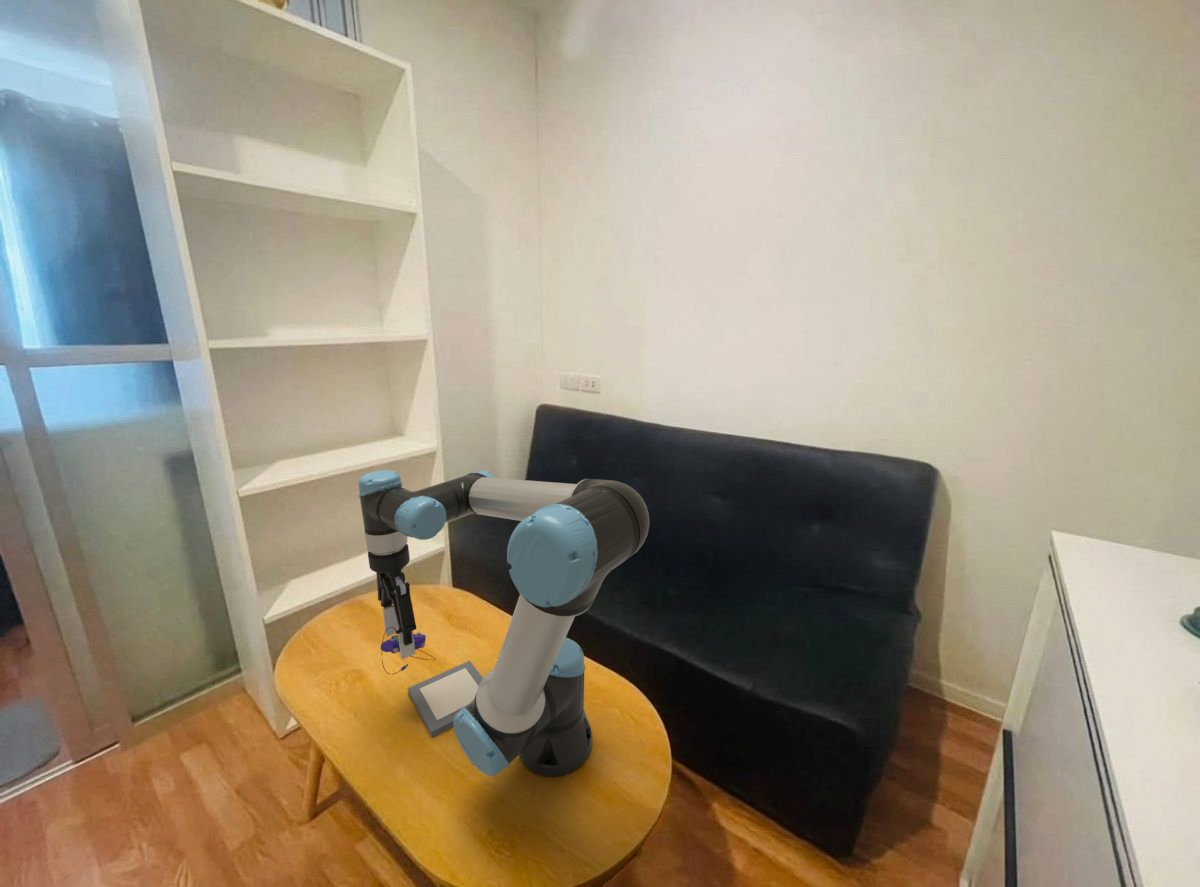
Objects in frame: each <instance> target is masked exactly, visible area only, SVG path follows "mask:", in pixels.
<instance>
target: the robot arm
mask: <svg viewBox="0 0 1200 887" xmlns="http://www.w3.org/2000/svg"><path fill="white" fill-rule="evenodd" d="M402 486H403V482H402V478H401V476H400V474H399V472H397V471H395V470H391V469H389V470H388V469H387V470H386V469H382V470H375V471H372V472H368V473H365V474H363V475H362V476H361V477H360V478H359V481H358V490H359V495H358V498H359V500H360V507H361V513H362V514H361V515H362V520H363V527H364V532H363V533H364V538H365V546H366V550H367V551H368V552H367V558H368V564H369V569H370V570H371V571H372V572H374V573H375V574H376V585H377V587H376V590H377V600H378V602H380V606H381V607H382V609H381V610H382V615H383V622H384V623H383V625H384V632H385V631H386V630H387V631H386V633H385V636H386V638H387V637H389V636H390V637H391V636H394V635H395V634H396V635H398V639H399V647H400V652H399V653H400V659H401V660H405V659H407V658H409V657H410V656H413V655H415V654H416V650H415V645H414V637H413V634H414V632H413V631H415V630H417V623H416V618H415V613H414V612H415V611H414V609H413V603H412V598H411V597H412V596H411V588H410V583H409V582H408V581H407V582H406V575H405V573H404V572H402V570H403V569H404V568H405V567H407V565H408V564H409V563H410V561H411V560H410V551H409V550H410V549H409V548H410V547H409V544H408V537H409V538H414V539H416V540H420V541H422V540H423V541H426V540H430V539H432V538H435V537H436V536H437V534H438V533H439V532H440V531H442V529H443V528H444V527H445V525H446V523H449V522H450V521H452V520H456V519H458V518H460V517H463V516H466V515H470V514H471V515H472V514H473V515H479V516H487V517H494V518H499V519H500V518H501V519H507V520H513V521H520V522H519V523H518V524H517V525H516V527H515V528H514V530H513V531H512V533H511V535H510V538H509V540H508V544H507V549H506V553H507V554H506V562H507V564H509V565H511V566H510V567H511V568H510V569H509V570H508V572H509V575H510V578H511V580H512V582H513V584H514V587H515V588H516V590H517V591H518V593H519V596H518V599H517V602H516V605H515V608H514V611H513V614H512V617H511V620H510V622H509V625H508V629H507V631H506V634H505V636H504V640H503V643H502V645H501V648H500V651H499V654H498V657H497V660H496V662H495V665H494V668H493V669H492V670H490V671H488V672H487V673H486V674H485V676H483V677H482V678H483V679H482V681H481V682H480V684H479V686H478V689H477V692H476V695H475V698H474V700H473V701H472V702H471V703H470V704H468V705H467V706H466V707H463V708H461V710H460V711H459V712H458V713H457V714H456V715H455V717H454V721H453V726H454V727H453V732H454V734H455V737H456V739H457V742H458V744H459V746H460V747H461V749H462V752H463V753H464V754H465V756H466V757H467V758H468V760H469V762H470V763H471V764H472V765H473V766H474V767H475V768H476V769H477V770H478V771H480V772H481V773H482V774H484V775H486V776H491V777H493V776H496V775H498V774H500V773H501V772H502V771H503V770H505V769H507V768H509V766H510V764H512V762H513V761H515V759H516V758H520V761H521V762H522V764H523V765H524V766H525V767H526V768H527V769H528V770H529V771H531V772H532V773H534V774H536V775H538V776H543V777H548V778H549V777H551V778H552V777H553V778H556V777H562V776H566V775H568V774H572V773H573V772H575V771H576V770H578V769H579V768H580V767H582V766H583V765H584V763H585V762H586V761H587V759H588V758H589V756H590V754H591V751H592V747H593V746H592V744H593V732H592V727H591V724H590V722H589V719H588V717H587V714H586V711H585V672H586V664H585V657H584V651H583V649H582V648H581V646H580V645H579V644H578V643H577V642H576V641H574V640H572V639H570V638H568V637H567V636H568V633H569V630H570V628H571V626H572V624H573V622H574V619H575V617H577V616H580V615H582V614H584V613H586V611H588V610H589V609H590V608H591V606H592V605H593V603H594V602H595V599H596V597H597V595H598V593H599V590H600V588H601V586H602V584H603V581H604V580H605V579H606V577H607V575H609V573H611V571H612V570H614V569H615V568H617V567H618V566H620V565H621V564H623V563H624V562H626V561H627V560H629V559H630V558H631V557H633V556H634V555H635V554H636V553H637V552H638V551H639V550H640V548H641V547H642V546H643V545H644V543H645V541H646V539H647V537H648V535H649V534H648V533H649V530H650V529H649V528H650V513H649V510H648V506H647V505H646V502H645V501H644V498H642V496H641V494H640V493H638V492H637V491H636V490H635V489H634V488H633V487H632V486H630V485H628V484H626V483H625V482H620V481H617V480H611V479H598V478H597V479H595V478H584V479H582V480H580V481H578V483H566V482H565V483H564V482H554V481H553V482H551V481H541V480H540V481H539V480H537V481H536V480H529V479H528V480H526V479H512V478H499V477H498V478H497V477H495V476H494V475H493V474H491V473H490V472H489V471H487V470H479V471H476V472H469V473H467V474H465V475H462V476H460V477H456V478H453V479H450V480H447V481H444V482H440V483H437V484H434V485H431V486H427V487H424V488H421V489H419V490H414V491H412V490H409V489H406V488H404V487H402ZM389 627H393V628H389ZM394 628H395V629H396V630H397V631H396V630H395V629H394ZM518 756H519V757H518Z"/></svg>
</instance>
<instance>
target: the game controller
mask: <svg viewBox="0 0 1200 887" xmlns="http://www.w3.org/2000/svg"><path fill="white" fill-rule="evenodd" d="M389 628H393V627H389ZM394 629H395V628H394ZM395 630H396V629H395ZM386 631H387V630H386ZM386 631H385V630H384V634H383V637H382V642H381V644H380V650H381V652H380V654H381V655H383V652H384V653H391V654H397V653H400V647H399V639H398V634H396V635H395V634H394V635H391V636H390V638H389V639H386V640H384V638H385V636H386ZM396 631H397V630H396ZM413 637H414V645H415V651H416V650H417V651H420V652H422V653H424V654H426V655H428V656H429V657H431V658H433V660H436V657H434V656H432V655H431V654H428V653H426V652H424V650H423V651H422V650H420V649H423V648H424V647H425V645H426V638H427V636H426V634H423V633H422V631H417V632H416V634H415V633H413ZM409 657H411V658H414V659H420V660H423V658H421V657H416V656H413V655H411V656H409ZM424 660H427V661H430V659H427V658H424ZM381 663H382V664H381V665H382V667H383V669H384V671H385V672H386V673H387V674H388V675H390V673H389V672H387V670H386V668H385V665H384V662H383V660H381ZM407 667H409V664H405V665H403V666H402V667H401V668H400V670H398V671H397V672H394V673H393V675H396V674H399V673H400V672H403V671H405V669H407Z"/></svg>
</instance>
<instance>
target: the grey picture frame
mask: <svg viewBox="0 0 1200 887" xmlns="http://www.w3.org/2000/svg"><path fill="white" fill-rule="evenodd" d="M483 678H484V677H483V676H482V675H481V673H480V672H479V671H478V669H477V668H476V667H475V665H474V664H473V663H472V662H471V660H468V661H466V662H464V663H461V664H459V665H456V666H455V667H454V666H453V667H451V668H449V669H447V670H445V671H442V672H441V673H439V674H437V675H434V676H432V677H429V678H427V679H425V680H423V681H421V682H418V683H417V684H414V685H411V686H409V687H408V688H407V693H408V696H409V698H410V699H411V701H412V703H413V705H414V707H415V709H416V711H417V712H418V714H419V716H420V718H421V721H422V722H423V723H424V726H425V727H426V730H427V731H428V733H429V735H430V737H431V738H432V739H433V738H434V737H437V736H439V735H440V734H443V733H444V732H446V731H448V730H449V729H452V728H454V726H453V721H454V717H455V715H456V714H457V713H458V712H459V711H460V710H461V708H463V707H466V706H467V705H468V704H470V703H471V702H472V701H473V700H474V698H475V695H476V692H477V689H478V686H479V684H480V682H481V681H482V679H483Z"/></svg>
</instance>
